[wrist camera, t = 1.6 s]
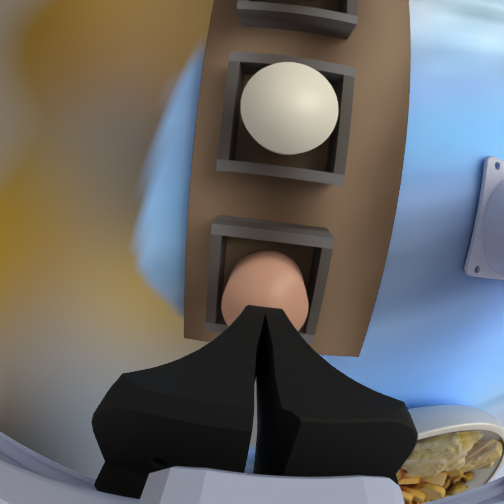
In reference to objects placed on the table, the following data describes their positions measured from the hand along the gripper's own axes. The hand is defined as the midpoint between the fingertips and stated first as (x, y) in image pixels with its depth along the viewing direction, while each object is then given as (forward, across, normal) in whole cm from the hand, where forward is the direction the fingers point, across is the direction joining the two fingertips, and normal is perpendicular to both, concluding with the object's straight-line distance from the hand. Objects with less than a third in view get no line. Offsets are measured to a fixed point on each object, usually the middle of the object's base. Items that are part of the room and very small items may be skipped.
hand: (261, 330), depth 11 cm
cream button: (+4, 0, -8) cm, 9 cm away
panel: (+7, -1, -8) cm, 11 cm away
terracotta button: (+4, 0, 0) cm, 4 cm away
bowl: (+8, -15, +24) cm, 29 cm away
